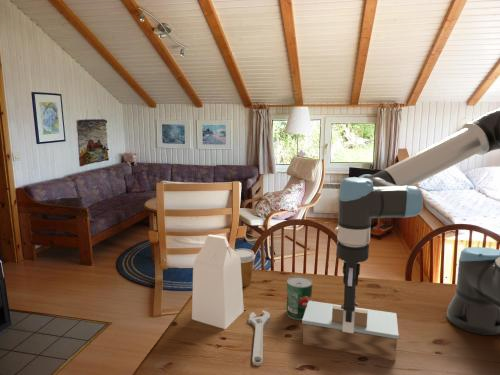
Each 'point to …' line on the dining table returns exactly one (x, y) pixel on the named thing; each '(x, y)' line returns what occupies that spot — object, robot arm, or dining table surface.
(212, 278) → the milk
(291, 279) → the canned tomato
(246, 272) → the disposable coffee cup
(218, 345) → the dining table surface
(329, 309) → the lid
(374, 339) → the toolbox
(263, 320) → the adjustable wrench
